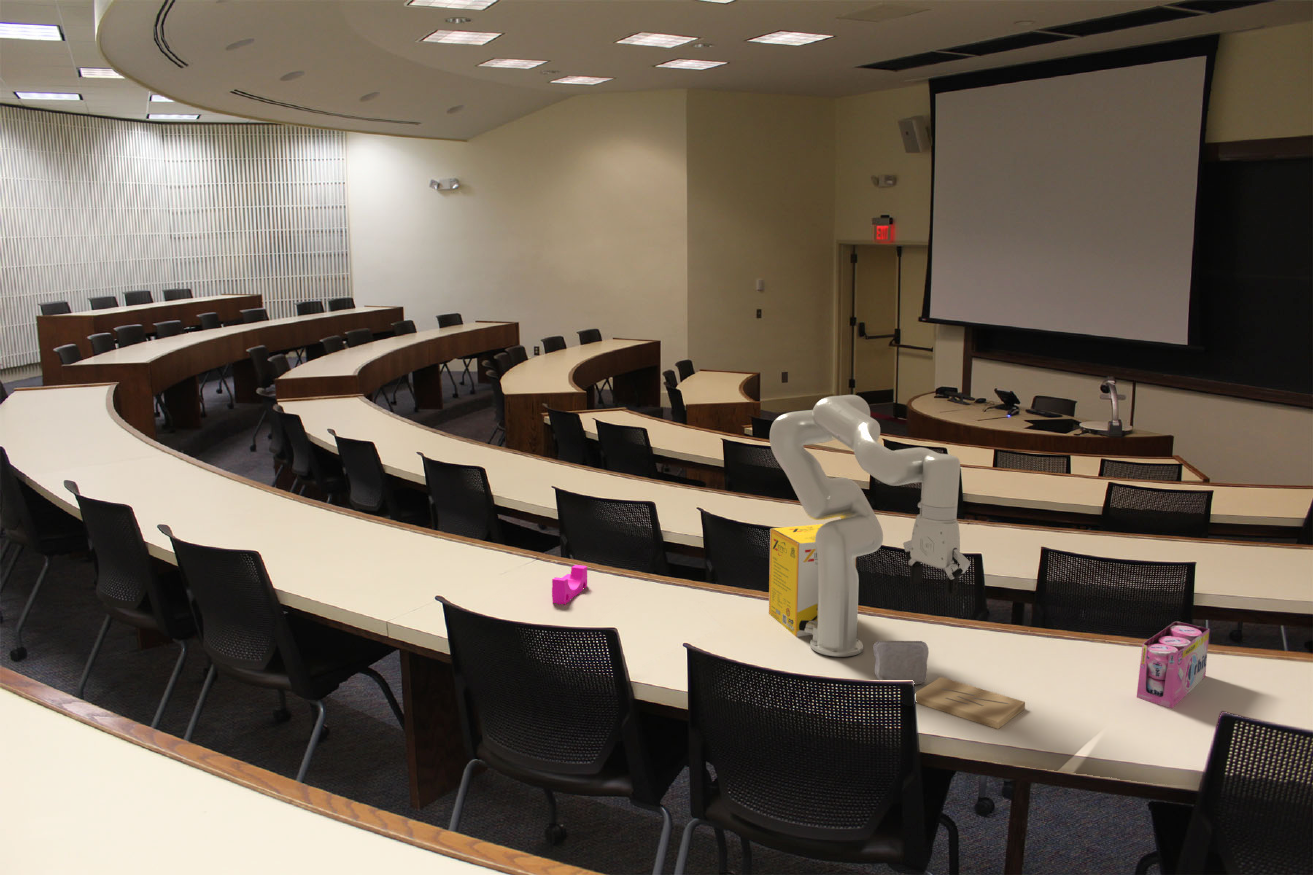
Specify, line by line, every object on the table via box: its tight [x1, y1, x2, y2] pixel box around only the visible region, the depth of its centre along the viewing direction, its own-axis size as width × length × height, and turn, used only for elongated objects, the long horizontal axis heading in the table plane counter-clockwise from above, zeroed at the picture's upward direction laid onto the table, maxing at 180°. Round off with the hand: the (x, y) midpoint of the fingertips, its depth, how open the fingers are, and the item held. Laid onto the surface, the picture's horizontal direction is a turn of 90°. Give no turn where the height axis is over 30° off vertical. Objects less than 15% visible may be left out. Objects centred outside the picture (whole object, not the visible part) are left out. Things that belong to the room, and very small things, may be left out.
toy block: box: [551, 564, 588, 605], centre depth 273 cm, size 15×6×8 cm, turn 159°
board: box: [915, 676, 1026, 730], centre depth 202 cm, size 19×13×2 cm
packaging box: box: [768, 523, 857, 638], centre depth 248 cm, size 16×16×25 cm
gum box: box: [1136, 621, 1210, 709], centre depth 209 cm, size 22×7×13 cm, turn 134°
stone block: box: [872, 640, 930, 686], centre depth 213 cm, size 12×5×10 cm, turn 92°
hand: (933, 589), depth 207 cm, fingers open, 9 cm apart
